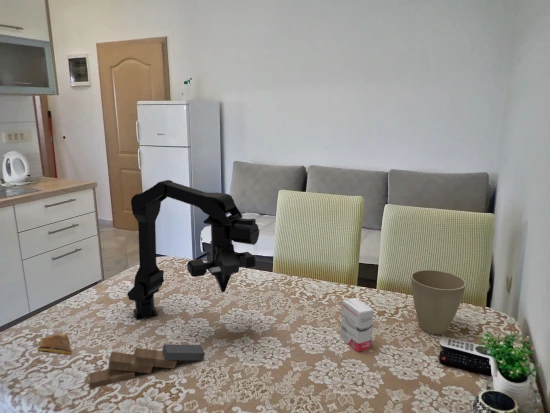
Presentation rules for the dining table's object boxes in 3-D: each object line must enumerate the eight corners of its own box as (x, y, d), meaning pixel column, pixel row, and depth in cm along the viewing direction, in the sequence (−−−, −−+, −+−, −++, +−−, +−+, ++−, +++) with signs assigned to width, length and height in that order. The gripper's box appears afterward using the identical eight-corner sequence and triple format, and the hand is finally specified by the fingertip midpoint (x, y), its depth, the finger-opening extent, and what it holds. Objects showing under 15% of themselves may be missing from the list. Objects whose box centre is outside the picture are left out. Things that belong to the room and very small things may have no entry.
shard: (72, 356, 107) (71, 350, 106) (39, 365, 103) (38, 359, 102) (68, 337, 116) (67, 331, 115) (37, 345, 112) (36, 339, 111)
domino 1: (135, 380, 98) (90, 390, 94) (133, 370, 101) (90, 380, 98) (134, 372, 97) (89, 383, 93) (133, 363, 101) (89, 373, 97)
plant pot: (466, 327, 122) (473, 278, 118) (448, 347, 111) (454, 294, 108) (419, 311, 132) (423, 265, 128) (398, 328, 121) (402, 279, 118)
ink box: (372, 348, 111) (375, 309, 108) (357, 352, 109) (360, 313, 106) (353, 333, 118) (355, 296, 116) (339, 337, 116) (341, 299, 114)
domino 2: (150, 373, 99) (108, 368, 96) (149, 364, 103) (109, 359, 99) (152, 366, 99) (110, 360, 95) (152, 357, 103) (111, 351, 99)
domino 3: (174, 368, 101) (134, 364, 97) (172, 359, 105) (133, 355, 101) (177, 361, 101) (136, 356, 97) (174, 352, 105) (135, 347, 101)
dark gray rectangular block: (202, 360, 105) (165, 360, 100) (198, 352, 108) (161, 351, 103) (205, 353, 105) (167, 352, 100) (200, 345, 108) (163, 344, 103)
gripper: (196, 253, 101) (198, 310, 104) (264, 243, 109) (264, 296, 112) (185, 240, 110) (187, 293, 114) (248, 232, 119) (248, 282, 122)
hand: (222, 291), depth 115 cm, fingers closed
